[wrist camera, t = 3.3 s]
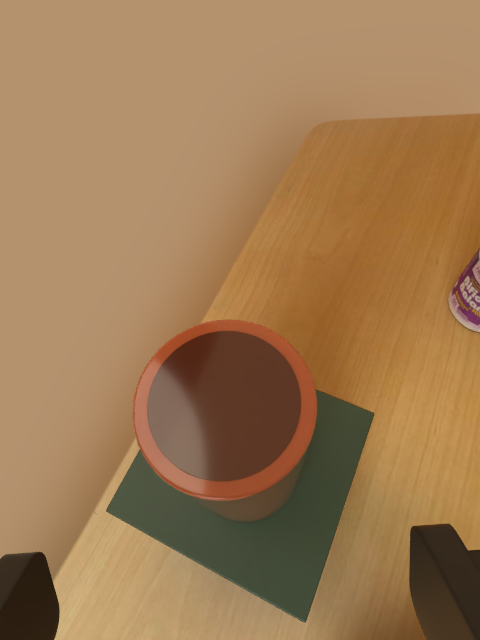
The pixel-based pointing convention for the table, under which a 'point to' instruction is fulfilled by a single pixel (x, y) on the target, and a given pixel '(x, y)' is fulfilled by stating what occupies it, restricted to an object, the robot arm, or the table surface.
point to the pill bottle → (467, 295)
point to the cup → (227, 417)
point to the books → (265, 534)
